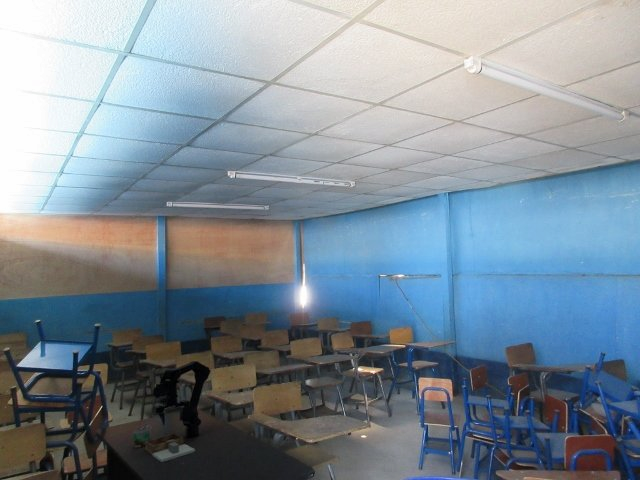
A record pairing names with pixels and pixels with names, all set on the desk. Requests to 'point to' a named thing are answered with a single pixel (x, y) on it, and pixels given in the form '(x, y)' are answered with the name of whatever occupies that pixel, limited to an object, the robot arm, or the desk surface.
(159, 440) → the crate
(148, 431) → the food container
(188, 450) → the lid
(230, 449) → the desk surface
